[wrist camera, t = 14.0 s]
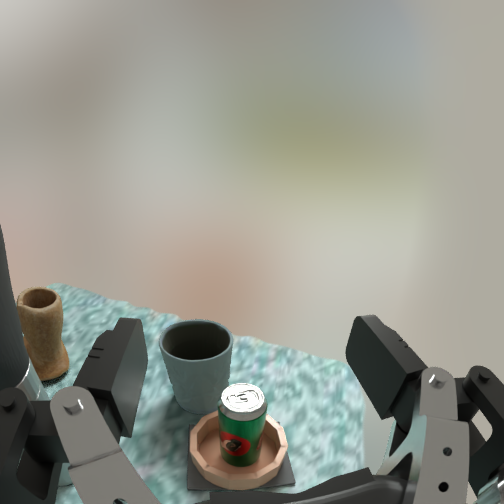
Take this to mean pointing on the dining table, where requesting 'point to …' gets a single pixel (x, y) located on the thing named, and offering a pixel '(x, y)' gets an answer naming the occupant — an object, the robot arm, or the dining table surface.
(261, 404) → the soda can
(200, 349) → the grey-green tumbler
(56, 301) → the tan boot
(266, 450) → the bowl
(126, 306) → the dining table surface
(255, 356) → the dining table surface
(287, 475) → the mat
